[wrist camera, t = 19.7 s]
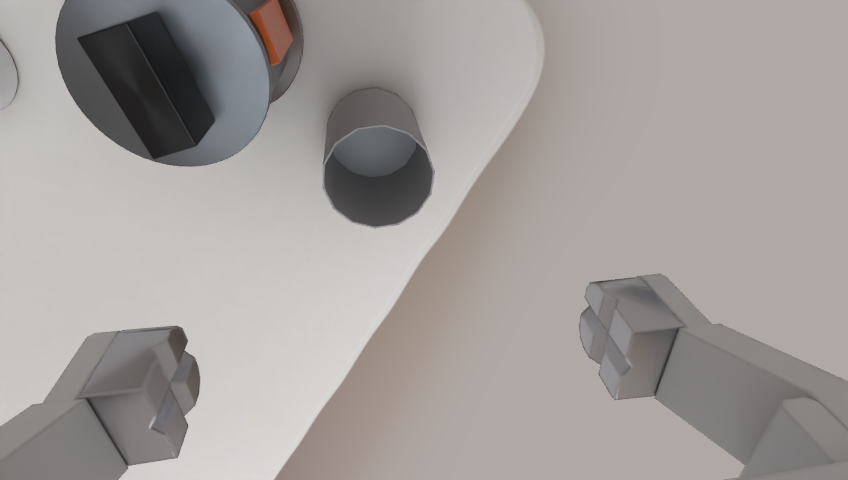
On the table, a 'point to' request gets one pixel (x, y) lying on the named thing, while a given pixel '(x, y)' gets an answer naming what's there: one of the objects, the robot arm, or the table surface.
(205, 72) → the bin
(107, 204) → the table surface
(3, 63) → the mug
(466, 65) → the table surface
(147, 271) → the table surface
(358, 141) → the cup
